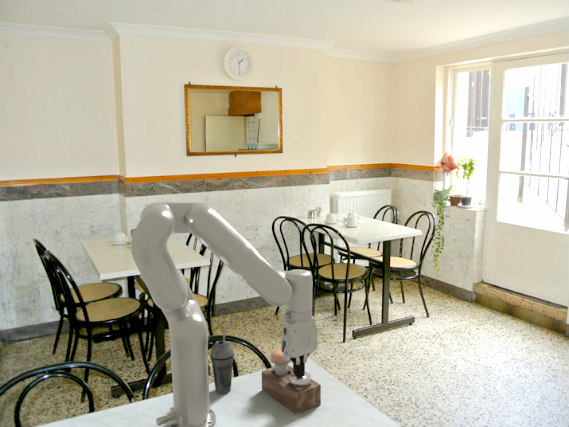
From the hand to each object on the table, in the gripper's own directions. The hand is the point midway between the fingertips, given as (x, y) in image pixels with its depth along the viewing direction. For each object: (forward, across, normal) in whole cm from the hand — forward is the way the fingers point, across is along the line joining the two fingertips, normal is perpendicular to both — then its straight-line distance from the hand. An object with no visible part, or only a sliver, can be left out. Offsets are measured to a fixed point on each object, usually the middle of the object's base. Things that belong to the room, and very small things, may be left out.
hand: (298, 375), depth 141 cm
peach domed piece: (+4, 0, +9) cm, 10 cm away
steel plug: (+8, 0, 0) cm, 8 cm away
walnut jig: (+9, 0, +4) cm, 10 cm away
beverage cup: (+9, -14, +20) cm, 26 cm away
